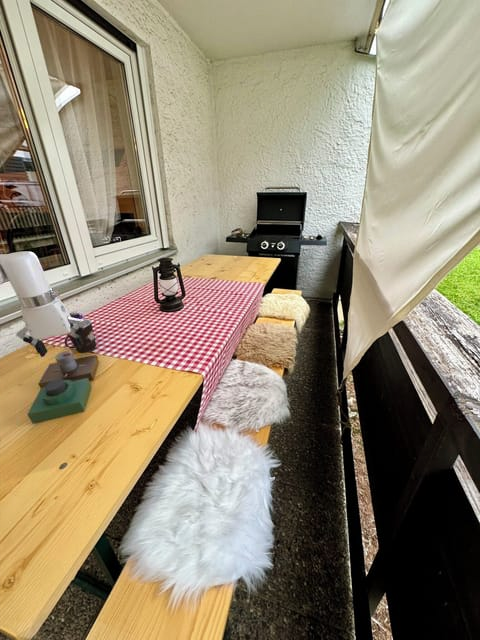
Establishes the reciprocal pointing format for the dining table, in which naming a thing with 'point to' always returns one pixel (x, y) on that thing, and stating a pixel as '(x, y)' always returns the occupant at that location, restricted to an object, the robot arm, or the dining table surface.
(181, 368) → the dining table surface
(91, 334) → the coffee mug
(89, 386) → the green flat block
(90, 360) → the dial panel
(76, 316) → the potion bottle
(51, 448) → the dining table surface
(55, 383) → the dark grey short cylinder
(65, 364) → the dial
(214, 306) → the dining table surface
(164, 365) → the dining table surface
